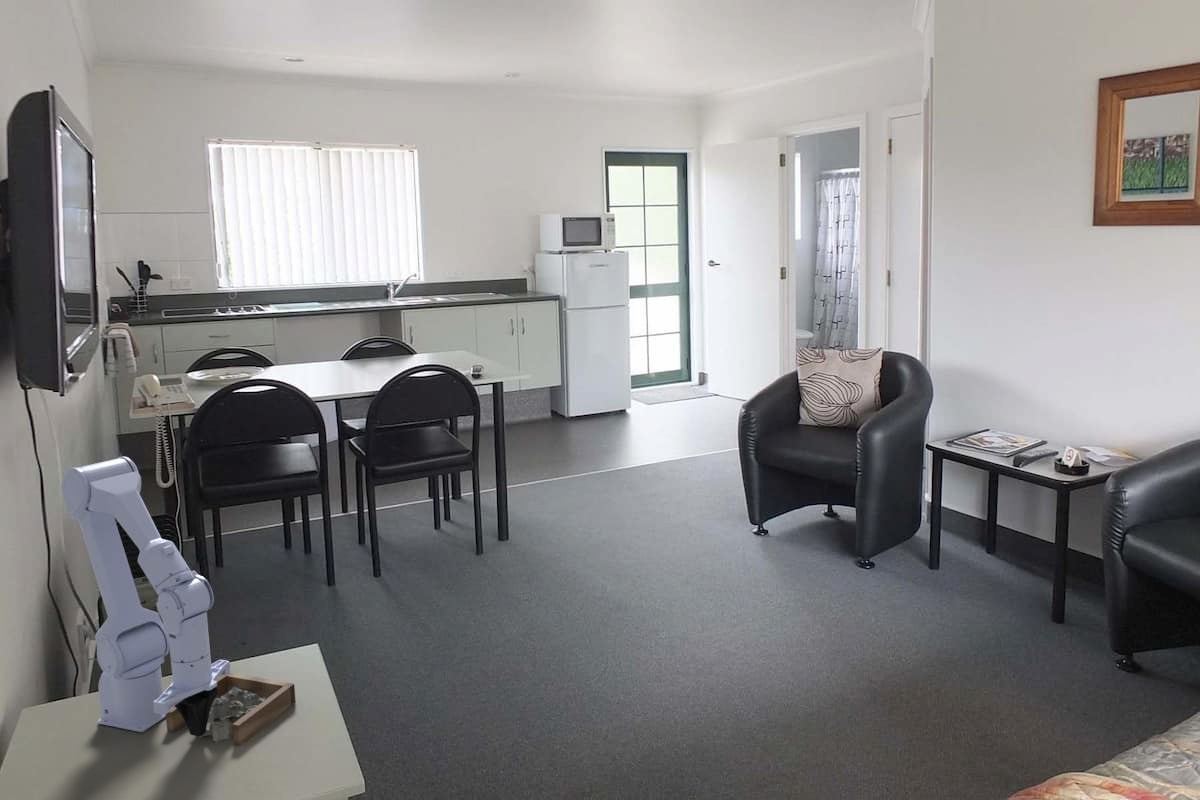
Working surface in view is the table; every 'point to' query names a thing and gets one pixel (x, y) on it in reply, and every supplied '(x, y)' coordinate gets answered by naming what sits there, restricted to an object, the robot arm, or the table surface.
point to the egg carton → (230, 712)
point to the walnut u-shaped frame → (257, 718)
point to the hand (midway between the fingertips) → (197, 733)
